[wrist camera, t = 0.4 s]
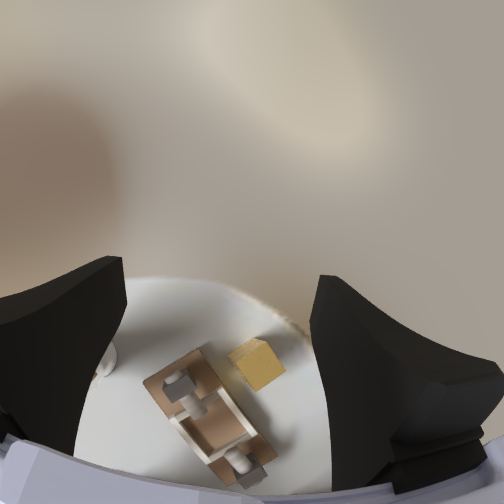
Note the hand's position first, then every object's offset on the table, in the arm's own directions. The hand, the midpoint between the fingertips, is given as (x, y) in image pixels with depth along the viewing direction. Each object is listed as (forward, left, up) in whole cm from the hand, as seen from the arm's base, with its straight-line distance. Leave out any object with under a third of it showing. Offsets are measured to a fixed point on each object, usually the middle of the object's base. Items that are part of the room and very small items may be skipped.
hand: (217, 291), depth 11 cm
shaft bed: (-14, -5, -27) cm, 31 cm away
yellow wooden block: (-5, -8, -27) cm, 29 cm away
